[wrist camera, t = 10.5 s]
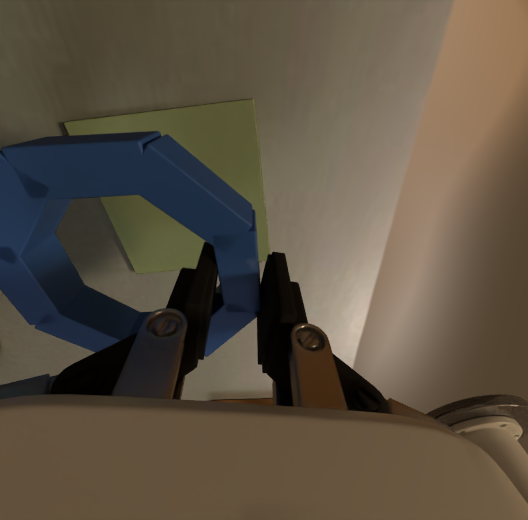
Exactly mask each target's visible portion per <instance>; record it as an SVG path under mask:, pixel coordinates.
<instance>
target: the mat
mask: <svg viewBox="0 0 528 520" xmlns="http://www.w3.org/2000/svg"><path fill="white" fill-rule="evenodd" d="M64 125H65V127H66V129H67V131H68V133H69V136H72V135H91V134H109V133H127V132H146V131H159V132H160V133H161V137H162V136H164V135H166V134H168V135H169V136H171V137H172V138H173V139H174V140H175V141H177V142H178V143H179V144H180V145H181V146H183V147H184V148H185V149H186V150H187V151H189V152H190V153H191V154H192V155H193V156H195V157H196V158H197V159H198V160H199V161H201V162H202V163H203V164H204V165H205V166H207V167H208V168H209V169H210V170H211V171H213V172H214V173H215V174H216V175H217V176H219V177H220V178H221V179H222V180H223V181H224V182H226V183H227V184H228V185H229V186H230V187H232V188H233V189H234V190H235V191H236V192H238V193H239V194H240V195H241V196H242V197H244V198H245V199H246V200H247V201H248V202H250V203H251V204H252V210H255V212H256V227H257V241H258V256H259V262H260V261H266V260H267V256H268V254H270V248H269V239H268V229H267V220H266V210H265V201H264V192H263V182H262V173H261V163H260V154H259V145H258V135H257V126H256V116H255V107H254V99H246V100H238V101H230V102H222V103H213V104H205V105H197V106H189V107H181V108H173V109H165V110H157V111H148V112H140V113H132V114H124V115H116V116H108V117H100V118H92V119H84V120H75V121H68V122H64ZM99 198H100V200H101V202H102V204H103V206H104V208H105V210H106V212H107V214H108V216H109V218H110V220H111V222H112V225H113V227H114V229H115V231H116V233H117V235H118V237H119V239H120V241H121V243H122V245H123V247H124V249H125V251H126V254H127V256H128V258H129V260H130V262H131V264H132V266H133V268H134V270H135V272H136V274H144V273H154V272H163V271H173V270H181V269H182V268H183V267H184V268H196V267H197V263H198V260H199V257H200V254H201V251H202V248H203V244H204V242H206V241H205V240H203V239H202V238H201V237H199V236H198V235H196V234H195V233H193V232H192V231H190V230H189V229H188V228H186V227H185V226H183V225H182V224H180V223H179V222H177V221H176V220H174V219H173V218H172V217H170V216H169V215H167V214H166V213H164V212H163V211H161V210H160V209H159V208H157V207H156V206H154V205H153V204H151V203H150V202H148V201H147V200H146V199H144V198H143V197H141V196H140V195H128V196H110V197H99Z"/></svg>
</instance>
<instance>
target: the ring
mask: <svg viewBox="0 0 528 520" xmlns="http://www.w3.org/2000/svg"><path fill="white" fill-rule="evenodd" d="M128 195H140V196H141V197H143V198H144V199H146V200H147V201H148V202H150V203H151V204H153V205H154V206H156V207H157V208H159V209H160V210H161V211H163V212H164V213H166V214H167V215H169V216H170V217H172V218H173V219H174V220H176V221H177V222H179V223H180V224H182V225H183V226H185V227H186V228H188V229H189V230H190V231H192V232H193V233H195V234H196V235H198V236H199V237H201V238H202V239H203V240H205V241H206V242H208V243H209V244H211V245H212V246H213V248H214V253H215V259H216V264H217V270H218V275H219V281H220V285H219V286H218V287H217V288H216V292H215V298H214V304H213V309H212V315H211V321H210V327H209V332H208V338H207V343H206V349H205V354H204V356H209V355H210V354H211V353H213V352H214V351H215V350H216V349H218V348H219V347H220V346H221V345H223V344H224V343H225V342H226V341H227V340H229V339H230V338H231V337H232V336H234V335H235V334H236V333H237V332H239V331H240V330H241V329H242V328H244V327H245V326H246V325H247V324H248V323H250V322H251V321H252V320H253V319H255V318H256V317H257V316H258V315H259V311H260V310H261V290H260V271H259V256H258V241H257V227H256V212H255V210H252V204H251V203H250V202H248V201H247V200H246V199H245V198H244V197H242V196H241V195H240V194H239V193H238V192H236V191H235V190H234V189H233V188H232V187H230V186H229V185H228V184H227V183H226V182H224V181H223V180H222V179H221V178H220V177H219V176H217V175H216V174H215V173H214V172H213V171H211V170H210V169H209V168H208V167H207V166H205V165H204V164H203V163H202V162H201V161H199V160H198V159H197V158H196V157H195V156H193V155H192V154H191V153H190V152H189V151H187V150H186V149H185V148H184V147H183V146H181V145H180V144H179V143H178V142H177V141H175V140H174V139H173V138H172V137H171V136H169V135H168V134H166V135H164V136H162V137H161V133H160V132H159V131H146V132H127V133H109V134H91V135H72V136H54V137H44V138H40V139H35V140H31V141H27V142H23V143H19V144H14V145H10V146H6V147H3V148H2V149H1V151H0V289H1V291H2V292H3V293H4V294H5V295H6V297H7V298H8V299H9V300H10V301H11V303H12V304H13V305H14V306H15V308H16V309H17V310H18V311H19V312H20V314H21V315H22V316H23V317H24V318H25V320H26V321H27V322H28V323H29V324H30V325H36V326H35V329H38V330H40V331H43V332H45V333H48V334H50V335H53V336H56V337H58V338H61V339H63V340H66V341H68V342H71V343H73V344H76V345H78V346H81V347H83V348H86V349H88V350H91V351H93V352H98V351H100V350H102V349H104V348H106V347H109V346H111V345H113V344H115V343H117V342H119V341H121V340H123V339H125V338H127V337H129V336H131V335H133V334H135V333H137V332H139V330H140V327H141V325H142V323H143V321H144V319H145V318H146V317H147V316H148V315H149V314H150V313H152V312H139V311H137V310H135V309H133V308H131V307H129V306H127V305H124V304H122V303H120V302H118V301H116V300H114V299H112V298H110V297H108V296H106V295H104V294H102V293H100V292H98V291H96V290H94V289H92V288H90V287H88V286H86V285H85V284H84V283H83V281H82V279H81V278H80V276H79V274H78V272H77V271H76V269H75V267H74V265H73V264H72V262H71V260H70V258H69V257H68V255H67V253H66V251H65V250H64V248H63V246H62V244H61V243H60V241H59V239H58V237H57V236H56V234H55V231H56V229H57V227H58V225H59V223H60V221H61V219H62V218H63V216H64V214H65V212H66V210H67V208H68V206H69V204H70V202H71V200H72V199H75V198H92V197H110V196H128Z"/></svg>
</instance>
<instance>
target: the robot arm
mask: <svg viewBox="0 0 528 520" xmlns="http://www.w3.org/2000/svg"><path fill="white" fill-rule="evenodd" d="M217 276H218V270H217V264H216V259H215V253H214V248H213V246H212V245H211V244H209V243H208V242H204V244H203V248H202V251H201V254H200V257H199V260H198V263H197V267H196V269H192V268H184V267H183V268H182V269H181V271H180V273H179V276H178V279H177V281H176V284H175V286H174V289H173V291H172V294H171V296H170V299H169V301H168V304H167V306H166V308H163V309H159V310H156V311H154V312H152V313H150V314H149V315H148V316H147V317H146V318H145V319H144V321H143V323H142V325H141V327H140V330H139V332H137V333H135V334H133V335H131V336H129V337H127V338H125V339H123V340H121V341H119V342H117V343H115V344H113V345H111V346H109V347H106V348H104V349H102V350H100V351H98V352H96V353H94V354H92V355H90V356H88V357H86V358H84V359H82V360H80V361H78V362H76V363H74V364H72V365H70V366H69V367H67V368H66V369H64V370H63V371H62V372H61V373H60V374H59V375H56V376H52V377H50V376H49V374H45V375H41V376H37V377H33V378H29V379H24V380H20V381H16V382H12V383H8V384H4V385H0V520H528V455H527V453H526V452H525V451H524V449H523V448H522V447H521V445H520V444H519V443H518V441H517V440H518V439H519V437H520V436H521V435H522V432H523V431H522V428H521V426H520V425H519V424H518V422H517V421H515V420H514V419H512V418H509V417H505V416H485V417H478V418H473V419H469V420H465V421H462V422H459V423H456V424H453V425H451V426H448V425H446V424H444V423H443V422H441V421H439V420H437V419H434V418H432V417H430V416H428V415H426V414H424V413H421V412H419V411H417V410H415V409H412V408H411V407H408V406H406V405H404V404H402V403H400V402H398V401H395V400H393V399H391V398H389V399H388V400H386V399H385V398H384V397H383V396H382V394H381V393H380V392H379V391H378V390H377V389H376V388H375V387H374V386H373V385H372V384H370V383H369V382H368V381H367V380H365V379H364V378H363V377H362V376H360V375H359V374H358V373H357V372H355V371H354V370H353V369H352V368H350V367H349V366H348V365H347V364H345V363H344V362H343V361H341V360H340V359H339V358H338V357H336V356H335V355H334V354H333V353H332V350H331V346H330V343H329V340H328V337H327V335H326V334H325V333H324V332H323V331H322V330H321V329H320V328H319V327H317V326H315V325H312V324H308V321H307V317H306V313H305V308H304V304H303V300H302V296H301V291H300V287H299V284H298V283H297V282H290V277H289V272H288V267H287V262H286V256H285V254H284V253H278V252H273V253H272V255H271V254H268V256H267V260H266V264H265V268H264V272H263V277H262V281H261V285H260V290H261V310H260V311H259V315H258V316H257V342H258V364H260V365H262V372H263V373H267V375H269V376H270V377H271V378H272V379H273V384H272V387H273V405H260V404H244V403H227V402H211V401H194V400H181V396H182V391H183V386H184V381H185V375H186V374H188V373H189V372H191V371H192V370H194V369H195V368H197V364H198V359H200V360H203V359H204V354H205V349H206V343H207V338H208V332H209V327H210V321H211V315H212V309H213V304H214V298H215V292H216V284H217Z"/></svg>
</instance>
